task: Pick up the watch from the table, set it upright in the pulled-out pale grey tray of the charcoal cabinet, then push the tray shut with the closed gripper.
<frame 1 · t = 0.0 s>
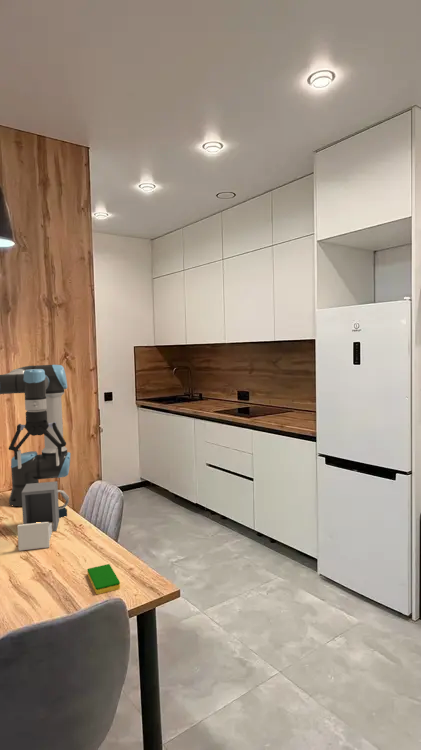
hand: (39, 466, 178), 28 cm above the table, tool pointing down, fingers open, 13 cm apart
dish sponge: (103, 583, 146), on the table
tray: (36, 528, 178), point 5 cm above the table, slide at 11.0 cm
cabinet: (42, 527, 192), on the table
watch: (60, 515, 205), on the table
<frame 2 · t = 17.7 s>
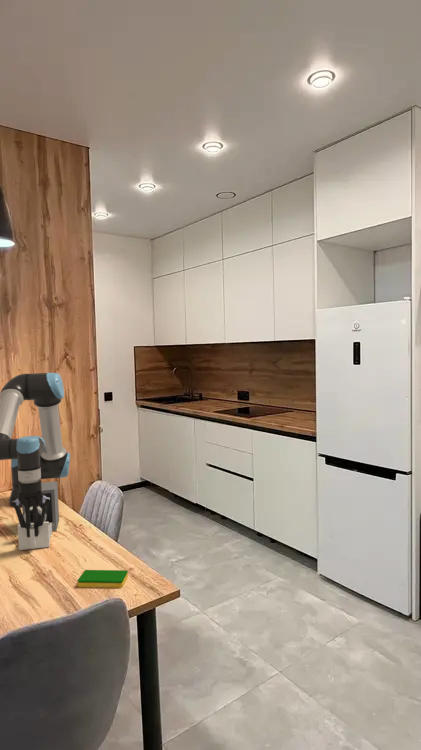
hand: (33, 545, 169), 2 cm above the table, tool pointing down, fingers closed
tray: (36, 527, 179), point 5 cm above the table, slide at 10.6 cm, touching gripper, watch
watch: (36, 535, 180), point 1 cm above the table, touching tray
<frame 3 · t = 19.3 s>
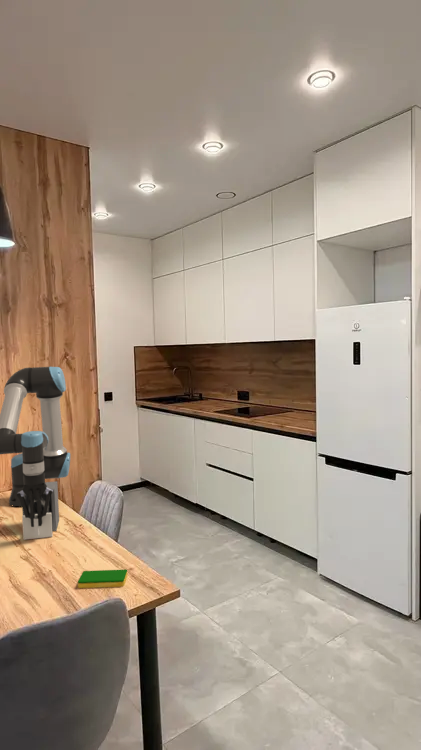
hand: (37, 534, 179), 2 cm above the table, tool pointing down, fingers closed
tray: (40, 519, 188), point 5 cm above the table, slide at 1.0 cm, touching gripper, watch
watch: (39, 526, 190), point 1 cm above the table, touching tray
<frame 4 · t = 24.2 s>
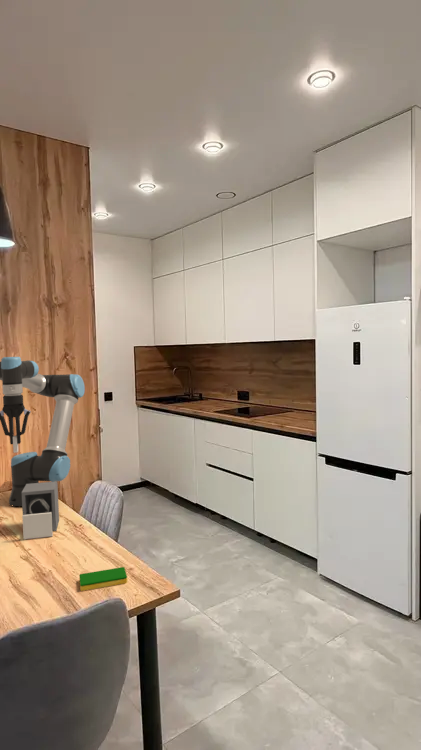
hand: (16, 451, 194), 30 cm above the table, tool pointing down, fingers closed
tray: (40, 518, 188), point 5 cm above the table, slide at 0.6 cm, touching watch
at the end: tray slide at 0.6 cm; watch inside the target area on the cabinet (2.2 cm from its centre), point 1.3 cm above the cabinet's base; watch tilted 0° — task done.
